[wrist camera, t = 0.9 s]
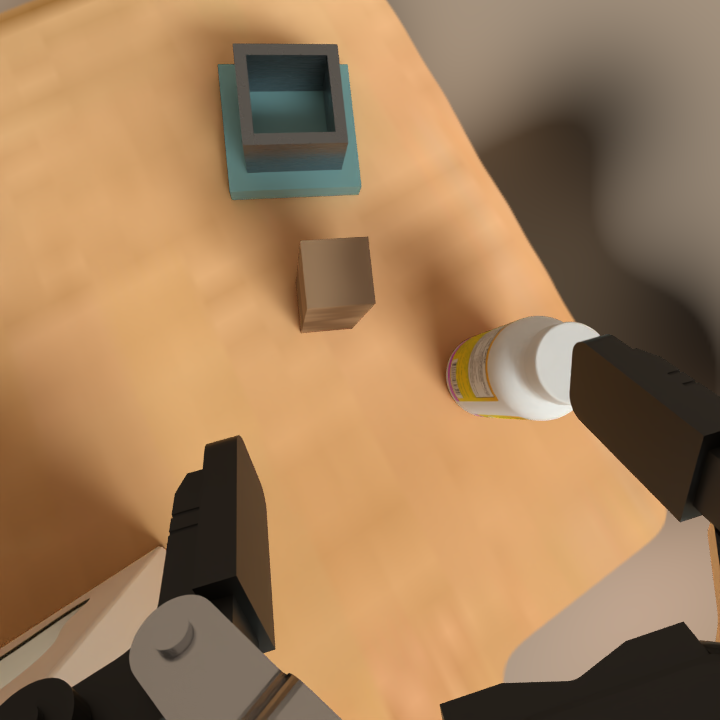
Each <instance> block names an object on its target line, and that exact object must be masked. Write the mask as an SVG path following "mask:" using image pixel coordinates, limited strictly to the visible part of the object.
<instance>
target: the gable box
mask: <svg viewBox="0 0 720 720" xmlns="http://www.w3.org/2000/svg"><path fill="white" fill-rule="evenodd" d="M165 556H166V550H165V548H163V547H159V546H158V547H157V548H155V549H153V550H152V551H150V552H149V553H147V554H146V555H144V556H143V557H141V558H140V559H138V560H136V561H135V562H133V563H132V564H130V565H129V566H127V567H126V568H124V569H122V570H121V571H119V572H118V573H116V574H115V575H113V576H112V577H110V578H109V579H107V580H105V581H104V582H102V583H101V584H99V585H98V586H96V587H95V588H93V589H92V590H90V591H88V592H87V593H85V594H84V595H82V596H81V597H79V598H78V599H76V600H75V601H73V602H71V603H70V604H68V605H67V606H65V607H64V608H62V609H61V610H59V611H58V612H56V613H54V614H53V615H51V616H50V617H48V618H47V619H45V620H44V621H42V622H41V623H39V624H37V625H36V626H34V627H33V628H31V629H30V630H28V631H27V632H25V633H24V634H22V635H20V636H19V637H17V638H16V639H14V640H13V641H11V642H10V643H8V644H7V645H5V646H3V647H2V648H0V705H1V704H2V703H3V702H5V701H6V700H7V699H8V698H9V697H10V696H11V695H13V694H14V693H16V692H17V691H18V690H20V689H21V688H23V687H25V686H26V685H28V684H30V683H33V682H35V681H37V680H41V679H44V678H59V679H62V680H64V681H65V682H67V683H68V684H69V685H70V686H71V687H73V686H74V685H76V684H78V683H79V682H81V681H82V680H84V679H85V678H87V677H89V676H90V675H92V674H93V673H95V672H97V671H98V670H100V669H101V668H103V667H104V666H106V665H108V664H109V663H111V662H112V661H114V660H115V659H117V658H118V657H120V656H121V655H123V654H124V653H125V652H126V651H127V650H129V649H130V648H131V645H132V642H133V639H134V637H135V635H136V633H137V631H138V629H139V628H140V626H141V625H142V623H143V622H144V621H145V620H146V618H147V617H148V616H149V615H150V614H151V613H152V612H153V611H154V610H156V609H157V606H158V602H159V595H160V589H161V582H162V576H163V569H164V562H165Z"/></svg>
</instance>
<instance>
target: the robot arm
mask: <svg viewBox="0 0 720 720" xmlns="http://www.w3.org/2000/svg"><path fill="white" fill-rule="evenodd" d="M569 397H570V403H571V406H572V409H573V411H574V413H575V415H576V416H577V417H578V419H579V420H580V421H581V422H582V423H583V424H584V425H585V426H586V427H587V428H588V429H589V430H590V431H591V432H592V433H593V434H594V435H595V436H596V437H597V438H598V439H599V440H600V441H601V442H602V443H603V444H604V445H605V446H606V447H607V448H608V449H609V450H610V451H611V452H612V453H613V454H614V456H615V457H616V458H617V459H618V460H619V461H620V462H621V463H622V464H623V465H624V466H625V467H626V468H627V469H628V470H629V471H630V472H631V473H632V474H633V475H634V476H635V477H636V478H637V479H638V480H639V481H640V482H641V483H642V484H643V485H644V486H645V487H646V488H647V489H648V490H649V491H650V492H651V493H652V494H653V495H654V496H655V497H656V498H657V499H658V500H659V501H660V502H661V503H662V504H663V505H664V506H665V507H666V508H667V509H668V510H669V511H670V512H671V513H672V514H673V515H674V517H675V518H676V519H677V520H678V521H679V522H682V521H685V520H689V519H692V518H695V517H698V516H701V515H703V516H704V517H705V518H706V519H708V520H709V521H710V525H709V529H708V540H709V548H710V556H711V563H712V572H713V580H714V587H715V595H716V603H717V611H718V628H717V635H716V642H712V641H701V640H700V641H699V640H698V639H697V638H696V636H695V635H694V634H693V633H692V632H691V630H690V629H689V628H688V627H687V625H686V624H685V623H684V622H681V623H678V624H675V625H673V626H669V627H666V628H663V629H661V630H658V631H654V632H652V633H649V634H646V635H643V636H640V637H637V638H634V639H631V640H628V641H625V642H624V643H623V644H622V645H621V646H619V647H618V648H617V649H615V650H614V651H613V652H611V653H610V654H609V655H608V656H606V657H605V658H604V659H602V660H601V661H600V662H599V663H597V664H596V665H595V666H593V667H592V668H591V669H590V670H588V671H587V672H586V673H585V674H583V675H582V676H581V677H579V678H578V679H575V680H572V681H561V682H529V683H501V684H498V685H495V686H492V687H489V688H486V689H483V690H481V691H478V692H475V693H472V694H469V695H466V696H463V697H460V698H457V699H454V700H451V701H448V702H445V703H442V704H440V709H441V714H442V719H443V720H720V397H719V396H718V395H716V394H715V393H713V392H712V391H711V390H709V389H708V388H706V387H705V386H703V385H702V384H700V383H695V380H694V379H693V378H691V377H690V376H688V375H687V374H685V373H684V372H681V373H680V371H679V369H678V368H676V367H675V366H673V365H672V364H670V363H669V362H667V361H666V360H664V359H663V358H661V357H660V356H657V355H653V354H651V353H648V352H645V351H643V350H640V349H637V348H636V349H632V348H630V347H629V346H627V345H626V344H624V343H623V342H622V341H620V340H619V339H617V338H616V337H614V336H613V335H610V334H606V335H602V336H599V337H595V338H591V339H588V340H584V341H581V342H577V343H576V344H575V345H574V347H573V351H572V363H571V377H570V391H569ZM172 517H173V518H172V519H171V523H170V530H169V532H170V536H168V543H167V549H166V556H165V562H164V569H163V576H162V582H161V589H160V595H159V602H158V606H157V609H156V610H154V611H153V612H152V613H151V614H150V615H149V616H148V617H147V618H146V620H145V621H144V622H143V623H142V625H141V626H140V628H139V629H138V631H137V633H136V635H135V637H134V639H133V642H132V645H131V648H130V649H129V650H127V651H126V652H125V653H124V654H123V655H121V656H120V657H118V658H117V659H115V660H114V661H112V662H111V663H109V664H108V665H106V666H104V667H103V668H101V669H100V670H98V671H97V672H95V673H93V674H92V675H90V676H89V677H87V678H85V679H84V680H82V681H81V682H79V683H78V684H76V685H74V686H73V687H71V686H70V685H69V684H68V683H67V682H65V681H64V680H62V679H59V678H44V679H41V680H37V681H35V682H33V683H30V684H28V685H26V686H25V687H23V688H21V689H20V690H18V691H17V692H16V693H14V694H13V695H11V696H10V697H9V698H8V699H7V700H6V701H5V702H3V703H2V704H1V705H0V720H342V719H341V718H340V717H339V716H338V715H336V714H335V713H334V712H333V711H332V710H331V709H330V708H329V707H328V706H327V705H326V704H325V703H324V702H323V701H322V700H321V699H320V698H319V697H318V696H317V695H316V694H315V693H314V692H313V691H312V690H310V689H309V688H308V687H307V686H306V685H305V684H304V683H303V682H302V681H301V680H299V679H298V678H297V677H296V676H294V675H293V674H290V673H288V675H286V674H285V673H283V672H282V671H281V670H280V669H278V668H277V667H276V666H275V665H274V664H273V663H272V662H271V661H270V660H269V659H268V658H267V657H266V656H265V655H264V654H263V653H265V652H268V651H272V650H275V637H274V621H273V606H272V590H271V574H270V558H269V542H268V527H267V511H266V503H265V497H264V493H263V489H262V486H261V483H260V481H259V478H258V476H257V473H256V471H255V468H254V466H253V464H252V461H251V459H250V456H249V454H248V451H247V449H246V446H245V444H244V442H243V440H242V438H241V436H239V435H238V436H234V437H231V438H227V439H224V440H220V441H216V442H213V443H209V444H206V446H205V451H204V462H203V469H202V470H198V471H195V472H191V473H188V474H187V475H186V476H185V478H184V480H183V481H182V483H181V485H180V486H179V488H178V490H177V491H176V493H175V497H174V503H173V510H172Z"/></svg>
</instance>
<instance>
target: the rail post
mask: <svg viewBox="0 0 720 720" xmlns="http://www.w3.org/2000/svg"><path fill="white" fill-rule="evenodd" d="M296 288H297V297H298V307H299V317H300V327H301V333H307V332H318V331H330V330H341V329H352V328H353V327H354V326H355V325H356V324H357V323H358V321H359V320H360V319H361V318H362V317H363V316H364V315H365V314H366V313H367V312H368V311H369V310H370V309H371V308H372V307H373V305H374V304H375V294H374V286H373V277H372V268H371V259H370V250H369V242H368V237H355V238H338V239H320V240H303V241H300V247H299V257H298V267H297V277H296Z"/></svg>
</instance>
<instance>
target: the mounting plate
mask: <svg viewBox="0 0 720 720" xmlns="http://www.w3.org/2000/svg"><path fill="white" fill-rule="evenodd" d="M218 73H219V84H220V94H221V105H222V115H223V126H224V137H225V147H226V158H227V168H228V179H229V189H230V195H231V199H232V200H243V199H266V198H289V197H312V196H335V195H358V194H359V192H360V189H361V179H360V170H359V161H358V153H357V144H356V135H355V126H354V117H353V109H352V100H351V91H350V82H349V73H348V65H347V64H340V73H341V82H342V90H343V99H344V108H345V117H346V126H347V135H348V146H347V150H346V154H345V158H344V162H343V166H342V170H318V171H289V172H260V173H247V169H246V163H245V157H244V151H243V145H242V134H241V124H240V114H239V103H238V93H237V83H236V72H235V64H218ZM250 98H251V108H252V118H253V128H254V133H300V132H327V125H326V116H325V107H324V98H323V91H275V92H250Z"/></svg>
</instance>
